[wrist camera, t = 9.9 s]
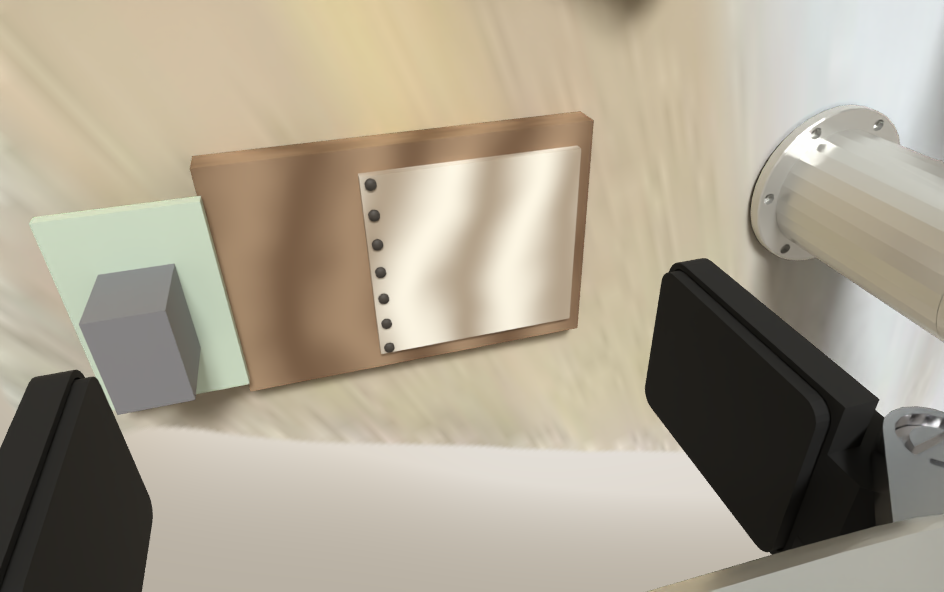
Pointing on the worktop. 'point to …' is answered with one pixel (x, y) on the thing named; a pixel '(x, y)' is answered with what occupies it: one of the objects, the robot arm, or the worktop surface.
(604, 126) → the worktop surface
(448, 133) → the ticket board
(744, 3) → the worktop surface
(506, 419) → the worktop surface
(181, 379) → the stub
